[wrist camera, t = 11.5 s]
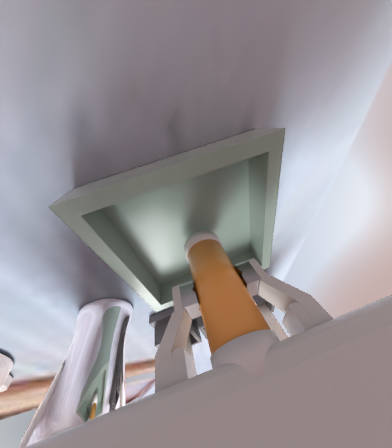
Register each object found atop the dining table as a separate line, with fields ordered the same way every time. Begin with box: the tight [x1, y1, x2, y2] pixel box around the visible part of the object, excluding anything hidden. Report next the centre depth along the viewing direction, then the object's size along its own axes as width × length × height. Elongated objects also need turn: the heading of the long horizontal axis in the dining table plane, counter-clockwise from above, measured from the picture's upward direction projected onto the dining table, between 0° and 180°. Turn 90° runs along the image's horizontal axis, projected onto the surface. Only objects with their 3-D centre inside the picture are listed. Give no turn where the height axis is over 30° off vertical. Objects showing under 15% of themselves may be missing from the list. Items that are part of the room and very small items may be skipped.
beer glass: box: [17, 298, 133, 448], centre depth 12 cm, size 7×7×15 cm
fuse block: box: [149, 295, 275, 348], centre depth 23 cm, size 19×8×4 cm, turn 104°
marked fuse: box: [184, 230, 280, 376], centre depth 10 cm, size 3×3×9 cm
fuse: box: [257, 303, 288, 341], centre depth 20 cm, size 3×3×9 cm
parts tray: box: [49, 128, 285, 312], centre depth 13 cm, size 14×14×3 cm
